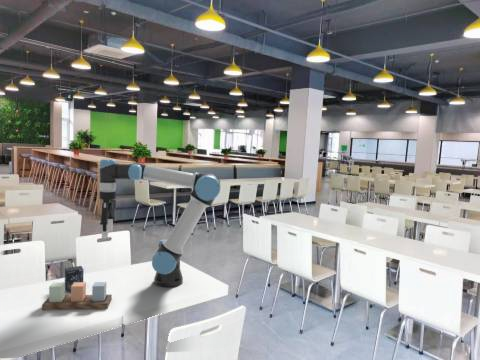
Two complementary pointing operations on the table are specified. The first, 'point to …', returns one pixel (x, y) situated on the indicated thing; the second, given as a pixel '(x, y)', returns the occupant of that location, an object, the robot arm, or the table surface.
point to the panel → (77, 304)
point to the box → (73, 276)
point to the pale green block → (57, 292)
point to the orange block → (78, 291)
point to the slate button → (99, 291)
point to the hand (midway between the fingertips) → (107, 234)
